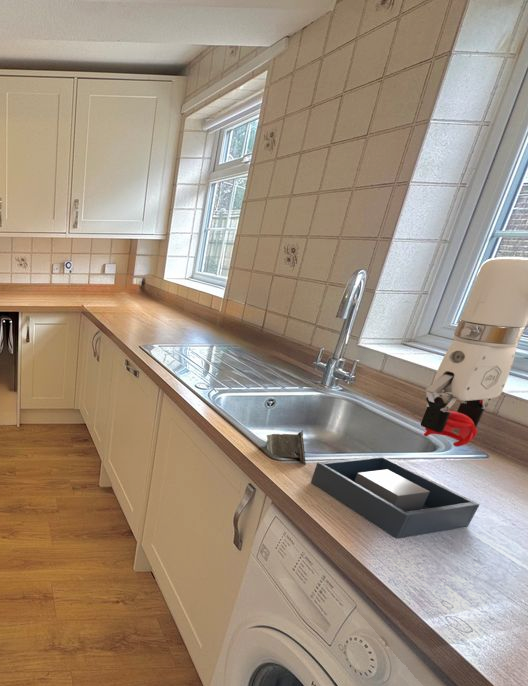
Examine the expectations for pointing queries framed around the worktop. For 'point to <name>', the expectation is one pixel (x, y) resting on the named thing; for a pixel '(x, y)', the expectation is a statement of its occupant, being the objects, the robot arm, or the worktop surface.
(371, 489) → the block
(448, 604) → the worktop surface
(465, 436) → the red curved piece
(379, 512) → the dark grey tray
